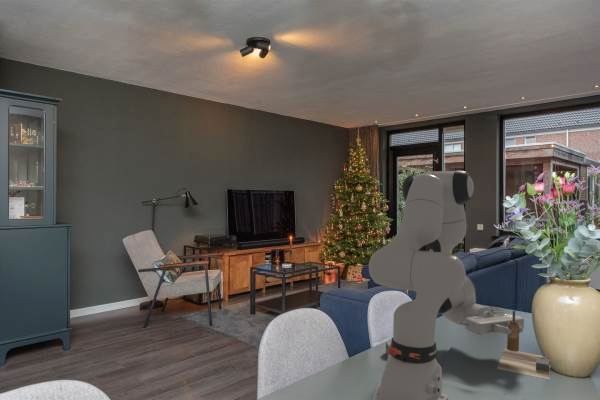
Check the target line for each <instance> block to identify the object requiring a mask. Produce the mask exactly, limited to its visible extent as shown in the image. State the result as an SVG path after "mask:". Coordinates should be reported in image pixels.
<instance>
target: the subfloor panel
mask: <svg viewBox="0 0 600 400" xmlns="http://www.w3.org/2000/svg"><path fill="white" fill-rule="evenodd" d="M537 356H538V357H541V356H542V357H543V356H544V355H540V354H538V355H537V354H533V353H528V352H523V351H510V350H508V349H507V348H503V352H502V354H501V357H500V359H499V361H498V365H497V368H496V369H497V370H502V371H505V372H510V373H516V374H520V375H526V376H529V377H535V378H538V379H545V380H548V381H550V380H551V378H550V376H551V364H550V365H549V372H545V371H541V370H536V359H537Z"/></svg>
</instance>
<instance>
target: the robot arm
mask: <svg viewBox="0 0 600 400" xmlns="http://www.w3.org/2000/svg"><path fill="white" fill-rule="evenodd" d="M474 189H475V185H474V181H473V179H472V175H470V174H469V173H468V172H467V171H464V170H453V171H451V170H450V171H449V170H444V171H441V170H440V171H439V170H438V171H436V170H435V171H428V172H421V173H413V174H410V175H408V176H406V178H404V180H403V182H402V187H401V192H402V197H403V200H404V201H405V203H404V204H405V205H404V209H403V215H402V220H401V222H400V227H399V229H398V231H397V233H396V235H394V237H393V238H392V240H391V241H389V242H388V243H387V244H386V245H384V246H383V247H381V248H379V249H377V250H376V251H375V252H374V253H373V254H371V255H372V256H371V257H370V259H369V263H368V273H369V276H370V278H371V279H372V281H373V282H374V283H375V284H377V285H380V286H384V287H387V288H390V289H397V290H406V291H413V292H416V294H415V298H414V299H413V300H410V301H409V300H408V301H407V302H404V303H402V304H400V305H399V306H397V308H396V309H395V310H394V313H393V319H392V320H393V323H392V325H393V326H392V327H393V329H392V330H393V331H392V333H393V334H392V337H391V340H390V342H391V345H390V347H389V350H388V353H389V355H388V356H387V360H386V364H385V366H384V370H383V373H382V376H381V379H379V381H378V384H377V386H376V389H375V391H374V393H373V395H372V396H373V397H372V398H371V400H449V396H448V395H447V394H446V393H444V392H443V371H442V366H441V365H440V364H439V363H438V361H437V359H436V358H437V351H438V348H437V342H436V326H437V318H438V314H441V315H442V316H443V317H444V318H445V319H446V320H448V321H449V322H451V323H454V324H456V325H458V326H462V327H465V330H468V331H470V332H472V333H474V334H476V335H486V334H487V335H489V334H495V333H501V334H505V335H508V334H512V328H509V327H508V322H510V320H513V312H512V313H511V312H510V311H506V310H503V308H501V307H496V306H493V307H491V306H486V305H482V304H478V303H477V288H476V285H475V282H474V281H473V279H471V278H470V277H469V276H468V275H467V272H466V267H465V265H464V263H463V262H462V260H461V259H460V258H459V256H455V255H454V254H453V255H452V254H449V253H451V251H452V250H454V248H455V247H456V246H458V245H459V244H460V243H461V242H462V241H463V240H464V239H465V237H466V235H467V217H466V210H465V206H464V205H465V204H466V203H468V202H469V201H470V200H472V198H473V194H474ZM425 246H426V247H425ZM423 247H425V248H426V250H421V249H422V248H423ZM515 321H517V323H518V324H519V334H521V333H523V332H524V331H523V330H524V327H525V319H524V318H523V317H522V316H520V315H517V314H515Z"/></svg>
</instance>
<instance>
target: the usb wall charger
mask: <svg viewBox="0 0 600 400" xmlns="http://www.w3.org/2000/svg"><path fill="white" fill-rule="evenodd" d="M390 345H391V341H385V354H386V355H387V357H388V355H389V353H388V350H389V347H390Z"/></svg>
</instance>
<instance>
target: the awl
mask: <svg viewBox="0 0 600 400" xmlns="http://www.w3.org/2000/svg"><path fill="white" fill-rule="evenodd" d="M512 314H513V320H510V322H508V327H509V328H512V334H507V341H506V343H507V344H506V349H508V350H510V351H518V352H520V350H519V349H520V347H519V346H520V333H519V324H518V323H517V321H515V315H516V310H512Z"/></svg>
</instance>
